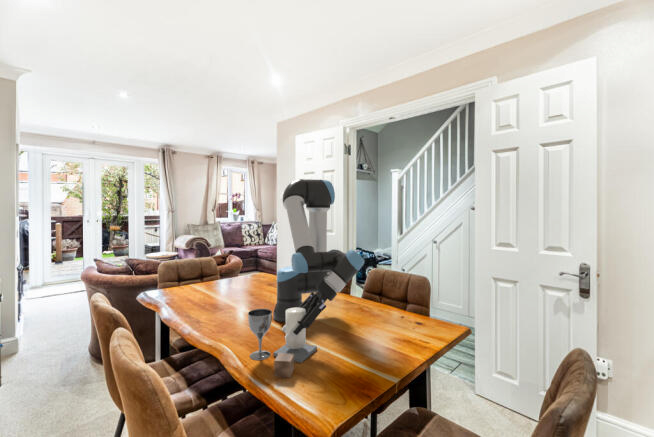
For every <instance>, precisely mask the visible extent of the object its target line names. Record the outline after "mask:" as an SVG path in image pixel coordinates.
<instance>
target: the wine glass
mask: <svg viewBox="0 0 654 437" xmlns="http://www.w3.org/2000/svg"><path fill="white" fill-rule="evenodd" d="M247 314H248V315H247V319H248V325H249V329H250V331H251V332H252V333H253V334H254V335H255V336H256V338H257V340H258V350H256V351H253V352H252V353H250V354H249V358H250V360H254V361H264V360H267V359H268V358H270V357H271V354H272V353H271V352H270V351H269V350H263V349H262V345H263V344H262V343H263V338H264V336H266V334H267V332H269V330H270V328H271V325H272V321H273V320H272V319H273V318H272V317H273V316H272V315H273V312H272V310H271V309H269V308H255V309H252V310H250V311H248V313H247Z"/></svg>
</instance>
